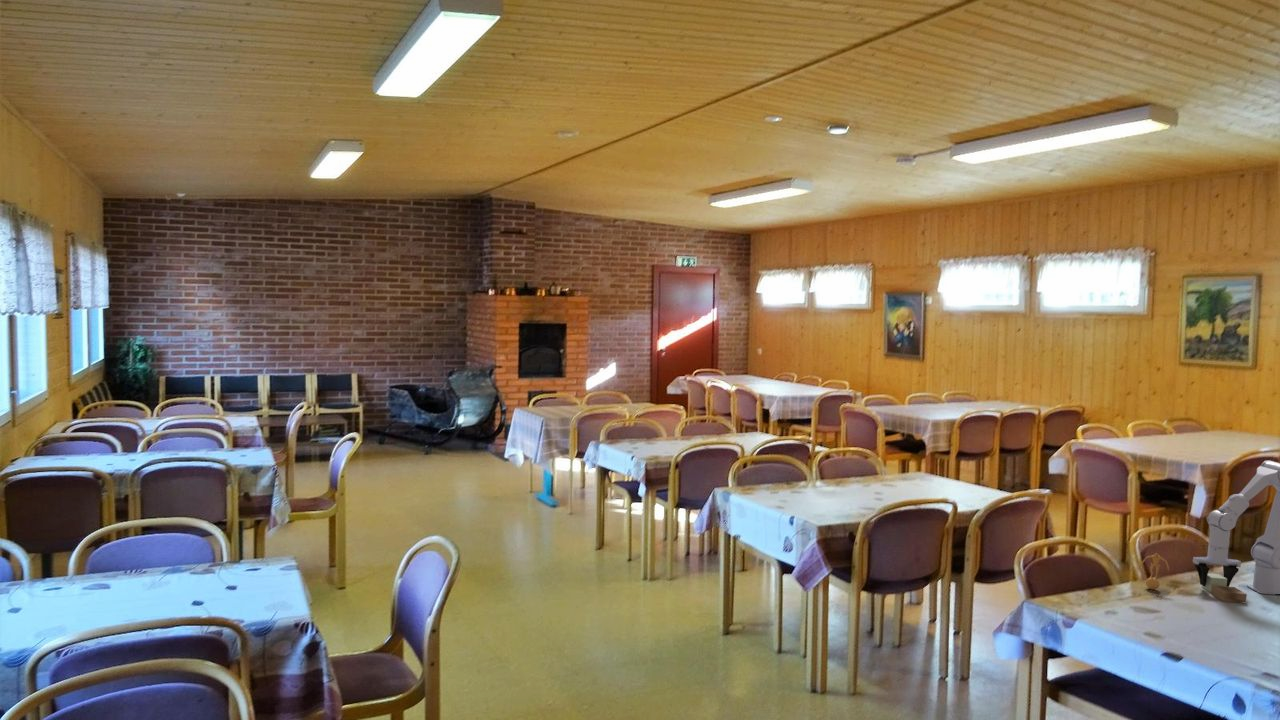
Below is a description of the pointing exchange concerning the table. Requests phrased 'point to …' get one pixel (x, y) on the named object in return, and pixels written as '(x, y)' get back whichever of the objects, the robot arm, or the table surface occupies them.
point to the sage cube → (1214, 581)
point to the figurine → (1152, 582)
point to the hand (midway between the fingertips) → (1214, 586)
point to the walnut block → (1228, 594)
